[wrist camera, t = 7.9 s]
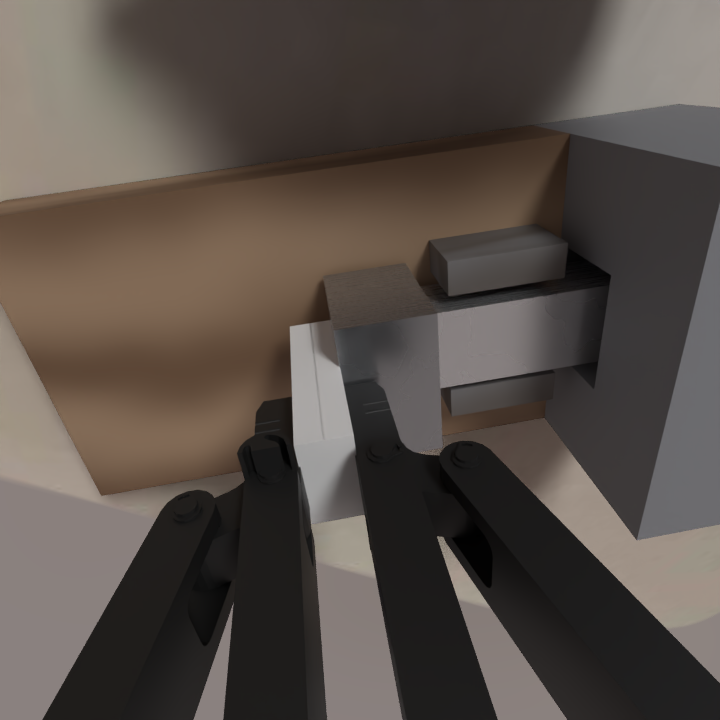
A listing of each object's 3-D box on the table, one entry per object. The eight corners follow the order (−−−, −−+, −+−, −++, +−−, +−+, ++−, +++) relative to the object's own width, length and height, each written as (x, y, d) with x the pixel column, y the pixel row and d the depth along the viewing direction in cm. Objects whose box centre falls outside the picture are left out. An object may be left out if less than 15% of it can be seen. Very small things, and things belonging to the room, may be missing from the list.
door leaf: (4, 200, 18) (-91, 244, 14) (532, 125, 20) (610, 142, 15) (120, 451, 25) (82, 539, 20) (518, 382, 26) (570, 451, 21)
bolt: (322, 275, 18) (333, 330, 14) (669, 221, 19) (767, 259, 15) (341, 390, 21) (354, 463, 17) (646, 339, 21) (724, 397, 17)
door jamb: (532, 125, 20) (728, 168, 11) (679, 104, 20) (981, 130, 11) (518, 382, 26) (636, 540, 17) (630, 363, 26) (802, 508, 17)
